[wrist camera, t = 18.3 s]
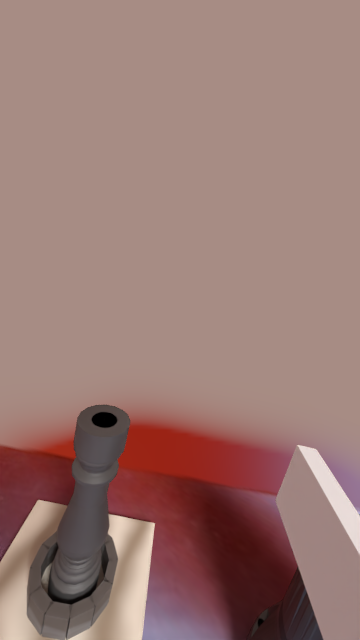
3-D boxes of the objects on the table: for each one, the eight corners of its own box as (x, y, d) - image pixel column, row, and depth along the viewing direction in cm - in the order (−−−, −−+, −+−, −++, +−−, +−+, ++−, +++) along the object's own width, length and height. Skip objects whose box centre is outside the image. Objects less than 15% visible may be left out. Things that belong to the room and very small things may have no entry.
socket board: (152, 530, 45) (159, 507, 44) (128, 737, 25) (138, 705, 24) (37, 506, 44) (40, 482, 43) (-79, 701, 25) (-78, 667, 24)
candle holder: (67, 628, 30) (102, 448, 25) (37, 586, 33) (62, 416, 28) (107, 579, 36) (143, 422, 30) (78, 546, 39) (106, 397, 33)
